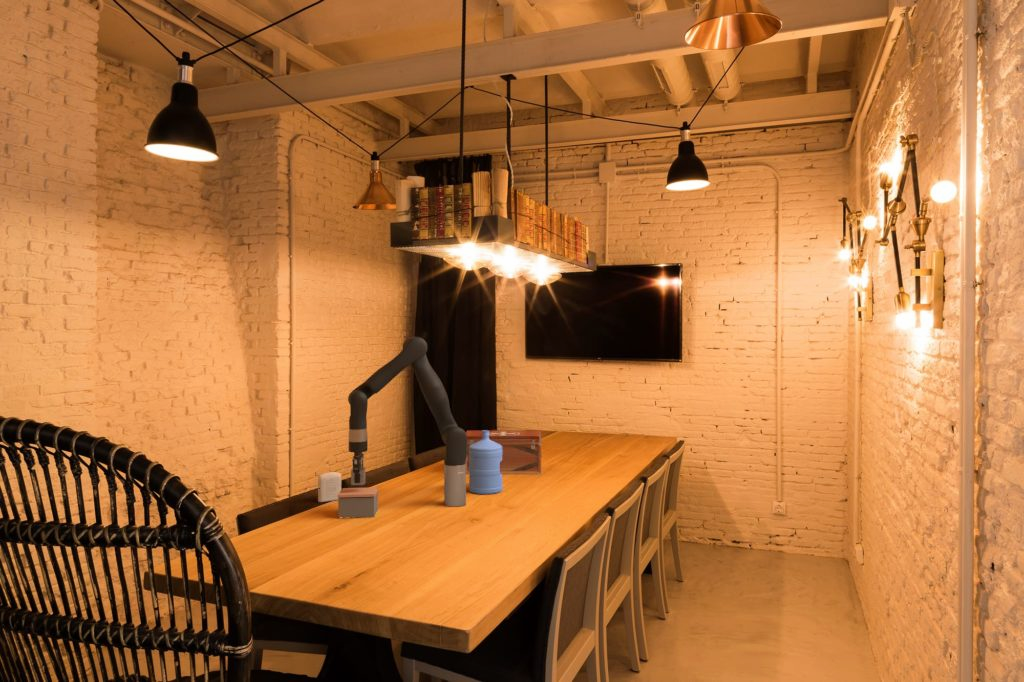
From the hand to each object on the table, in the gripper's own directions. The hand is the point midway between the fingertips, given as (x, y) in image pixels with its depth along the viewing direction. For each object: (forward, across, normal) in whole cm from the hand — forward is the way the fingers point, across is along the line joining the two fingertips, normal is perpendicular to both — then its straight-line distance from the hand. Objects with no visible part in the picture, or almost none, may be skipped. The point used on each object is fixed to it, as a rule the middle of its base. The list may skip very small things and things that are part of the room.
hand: (358, 481), depth 277 cm
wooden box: (+14, +80, -64) cm, 103 cm away
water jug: (+13, +35, -53) cm, 65 cm away
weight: (+1, 0, 0) cm, 1 cm away
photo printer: (+14, +24, +16) cm, 32 cm away
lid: (+5, 0, 0) cm, 5 cm away
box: (+13, 0, 0) cm, 13 cm away
